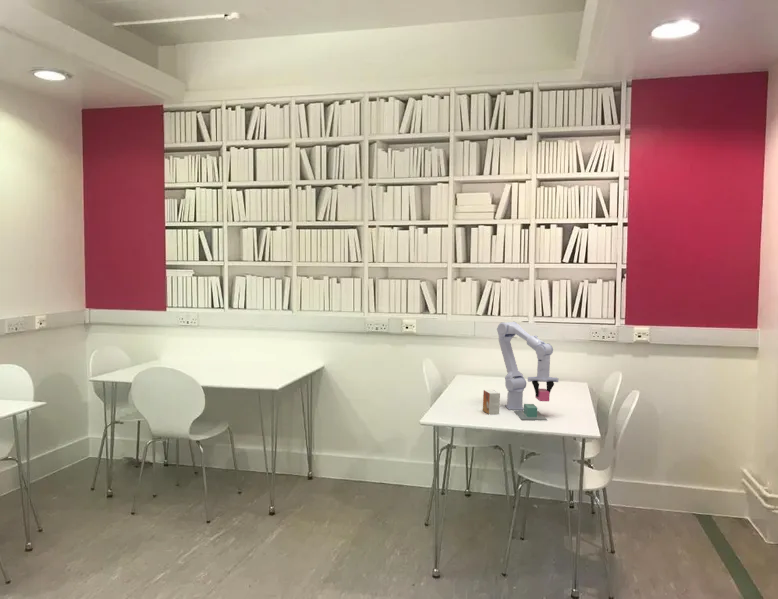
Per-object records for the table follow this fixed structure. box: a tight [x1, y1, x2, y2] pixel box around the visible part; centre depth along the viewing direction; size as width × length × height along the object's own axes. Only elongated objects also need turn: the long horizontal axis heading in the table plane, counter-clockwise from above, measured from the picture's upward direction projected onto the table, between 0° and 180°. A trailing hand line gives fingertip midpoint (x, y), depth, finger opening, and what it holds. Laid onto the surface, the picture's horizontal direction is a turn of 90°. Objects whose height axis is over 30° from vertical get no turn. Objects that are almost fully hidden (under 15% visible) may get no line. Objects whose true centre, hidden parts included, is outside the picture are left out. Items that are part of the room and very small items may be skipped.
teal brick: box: [523, 403, 538, 417], centre depth 302 cm, size 8×5×4 cm, turn 0°
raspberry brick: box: [535, 388, 551, 402], centre depth 303 cm, size 8×5×4 cm, turn 1°
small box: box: [482, 389, 501, 415], centre depth 307 cm, size 8×6×10 cm
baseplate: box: [513, 410, 548, 421], centre depth 302 cm, size 16×12×1 cm
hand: (542, 396), depth 303 cm, fingers closed on raspberry brick, 5 cm apart
